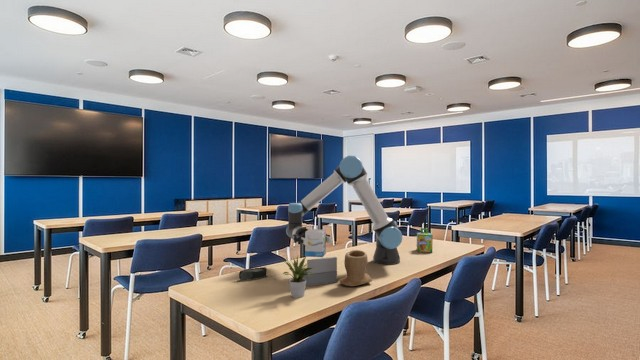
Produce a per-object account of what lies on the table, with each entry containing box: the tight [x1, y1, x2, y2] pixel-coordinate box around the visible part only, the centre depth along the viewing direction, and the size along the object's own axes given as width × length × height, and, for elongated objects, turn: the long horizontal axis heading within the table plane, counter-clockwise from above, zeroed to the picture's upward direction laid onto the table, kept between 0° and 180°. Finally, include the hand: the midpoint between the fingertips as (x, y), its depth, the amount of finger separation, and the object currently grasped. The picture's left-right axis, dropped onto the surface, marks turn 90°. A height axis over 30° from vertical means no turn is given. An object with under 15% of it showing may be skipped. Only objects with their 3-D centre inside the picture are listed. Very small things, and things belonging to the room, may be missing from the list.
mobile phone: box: [236, 266, 268, 283], centre depth 163 cm, size 5×3×15 cm
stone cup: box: [338, 249, 373, 287], centre depth 154 cm, size 15×12×15 cm
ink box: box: [304, 228, 327, 258], centre depth 162 cm, size 8×8×12 cm
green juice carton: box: [416, 227, 434, 254], centre depth 225 cm, size 9×9×15 cm
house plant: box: [282, 255, 315, 299], centre depth 138 cm, size 14×14×16 cm
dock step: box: [301, 256, 338, 287], centre depth 162 cm, size 14×16×11 cm
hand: (319, 241), depth 158 cm, fingers closed on ink box, 11 cm apart
